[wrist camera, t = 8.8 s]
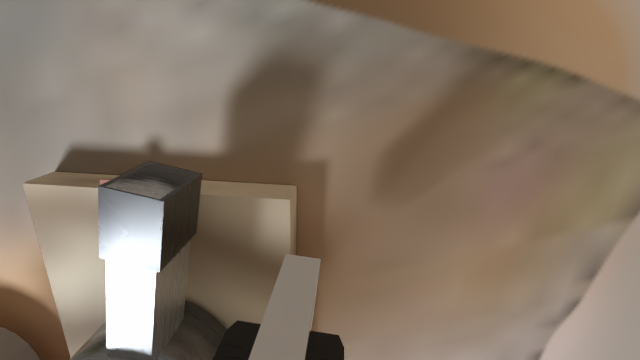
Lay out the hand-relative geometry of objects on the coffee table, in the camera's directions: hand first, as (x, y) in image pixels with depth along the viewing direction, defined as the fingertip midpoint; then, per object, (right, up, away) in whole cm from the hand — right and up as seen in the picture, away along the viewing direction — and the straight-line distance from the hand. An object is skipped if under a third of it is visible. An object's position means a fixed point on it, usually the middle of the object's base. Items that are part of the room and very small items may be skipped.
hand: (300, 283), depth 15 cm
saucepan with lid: (-7, -2, +4) cm, 8 cm away
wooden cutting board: (-8, -5, +8) cm, 12 cm away
